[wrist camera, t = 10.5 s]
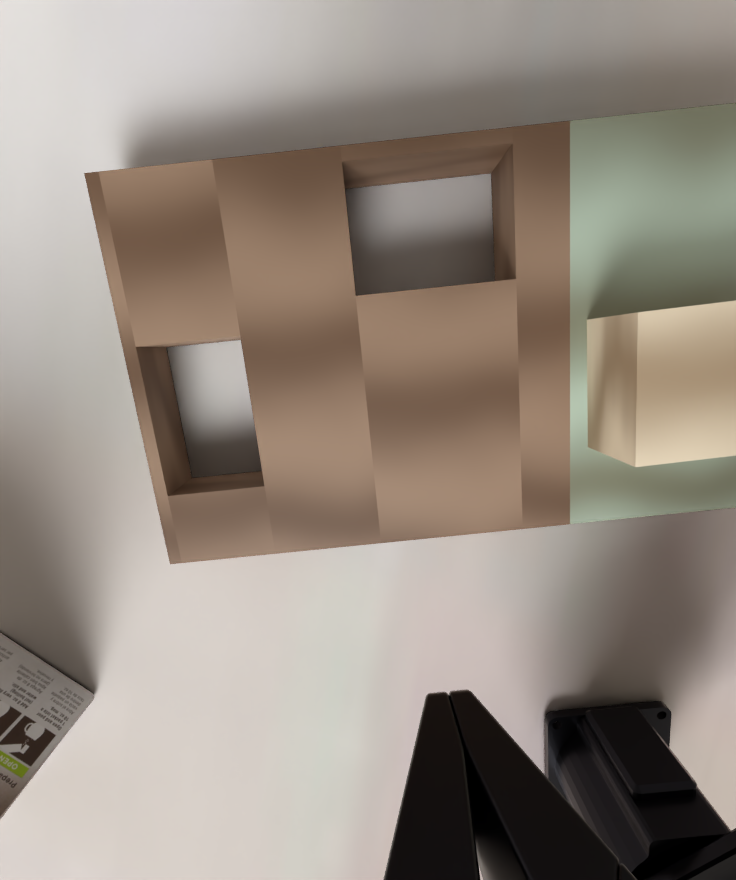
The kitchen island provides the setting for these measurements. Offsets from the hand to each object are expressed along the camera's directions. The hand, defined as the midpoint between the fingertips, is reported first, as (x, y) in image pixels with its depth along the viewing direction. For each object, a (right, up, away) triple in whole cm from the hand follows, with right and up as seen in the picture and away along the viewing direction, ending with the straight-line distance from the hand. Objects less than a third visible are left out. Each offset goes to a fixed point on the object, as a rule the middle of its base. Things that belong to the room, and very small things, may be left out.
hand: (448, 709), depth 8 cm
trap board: (+2, +9, +10) cm, 14 cm away
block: (+10, +8, +8) cm, 15 cm away
